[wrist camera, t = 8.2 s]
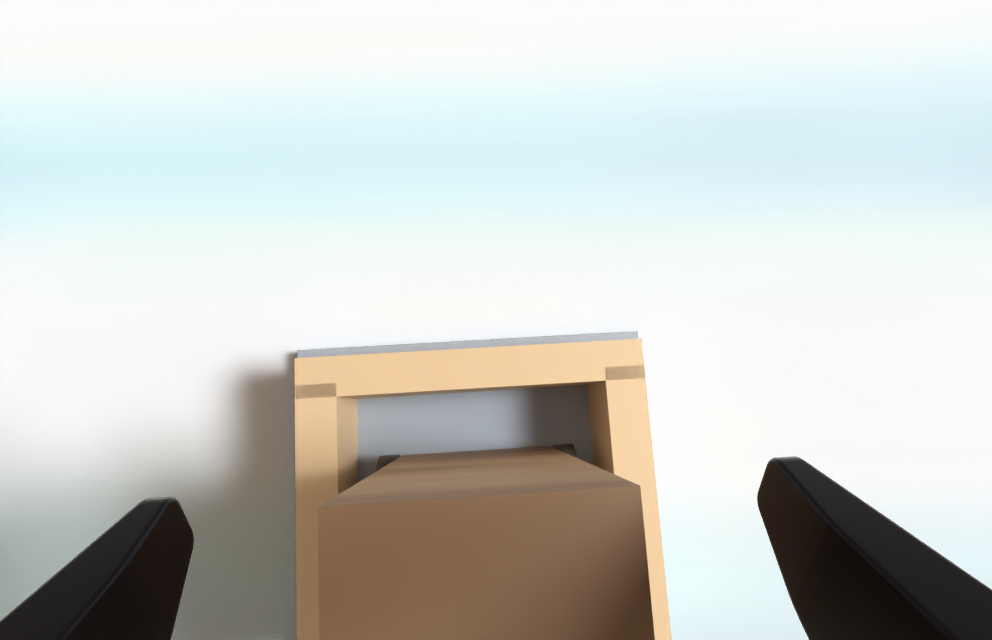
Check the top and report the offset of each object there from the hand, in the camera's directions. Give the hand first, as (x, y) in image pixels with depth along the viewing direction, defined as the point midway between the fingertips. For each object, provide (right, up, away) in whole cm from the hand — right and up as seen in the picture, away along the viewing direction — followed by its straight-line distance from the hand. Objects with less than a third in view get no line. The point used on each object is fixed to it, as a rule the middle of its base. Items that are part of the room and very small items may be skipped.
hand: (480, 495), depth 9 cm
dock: (0, -3, +11) cm, 12 cm away
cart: (0, -4, +11) cm, 11 cm away
